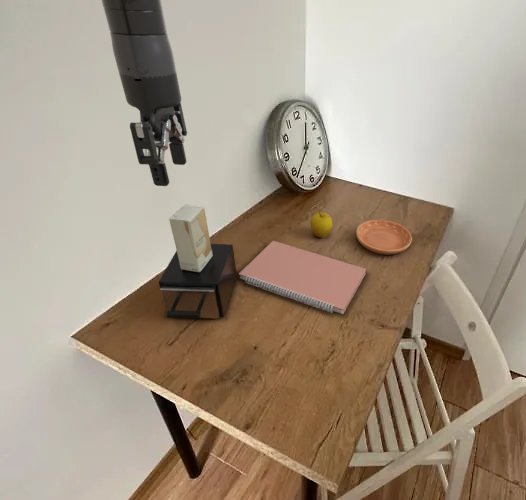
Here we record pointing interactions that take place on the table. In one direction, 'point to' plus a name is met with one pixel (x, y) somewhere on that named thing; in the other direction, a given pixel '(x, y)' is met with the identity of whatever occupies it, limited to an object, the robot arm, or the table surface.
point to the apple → (321, 224)
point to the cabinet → (207, 274)
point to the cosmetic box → (191, 237)
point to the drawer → (190, 301)
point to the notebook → (304, 276)
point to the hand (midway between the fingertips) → (171, 173)
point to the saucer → (383, 236)
